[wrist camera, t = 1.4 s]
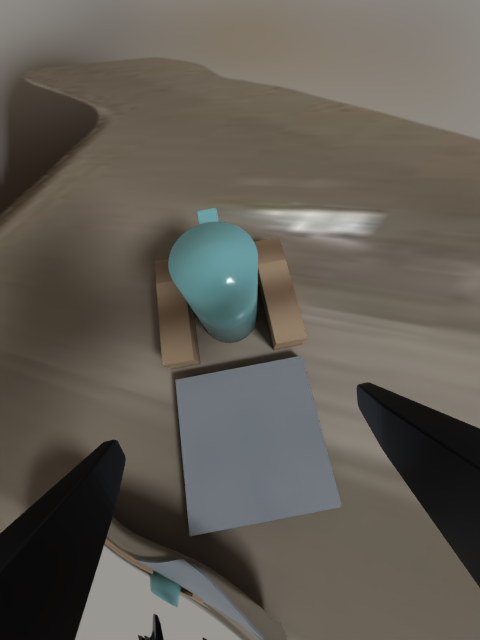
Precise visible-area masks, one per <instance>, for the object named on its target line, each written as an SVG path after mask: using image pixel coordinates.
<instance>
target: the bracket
mask: <svg viewBox="0 0 480 640" xmlns="http://www.w3.org/2000/svg"><path fill="white" fill-rule="evenodd" d="M254 243H255V245H256V248H257V252H258V283H259V288H260V292H261V297H262V301H263V305H264V310H265V314H266V318H267V323H268V327H269V331H270V336H271V340H272V344H273V349H274V350H276V349H281V348H287V347H292V346H297V345H302V344H303V343H304V341H305V340H306V339H307V334H306V331H305V327H304V324H303V320H302V317H301V313H300V309H299V306H298V302H297V299H296V295H295V292H294V288H293V285H292V281H291V277H290V274H289V270H288V267H287V263H286V260H285V256H284V253H283V249H282V245H281V242H280V238H279V237H277V238H271V239H266V240H261V241H255V242H254ZM168 261H169V258H166V259H161V260H155V261H154V262H155V275H156V289H157V302H158V315H159V328H160V341H161V355H162V366H165V367H167V368H170V369H177V368H182V367H187V366H192V365H198V364H200V357H199V350H198V342H197V334H196V326H195V318H194V311H193V310H192V308H191V307H190V305H189V304H188V302H187V301H186V299H185V298H184V296H183V295H182V293H181V292H180V291H179V289H178V288H177V286H176V285H175V283H174V282H173V280H172V278H171V275H170V272H169V267H168Z"/></svg>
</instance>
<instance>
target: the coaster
mask: <svg viewBox="0 0 480 640" xmlns="http://www.w3.org/2000/svg"><path fill="white" fill-rule="evenodd" d="M175 381H176V392H177V403H178V414H179V425H180V436H181V447H182V458H183V469H184V480H185V491H186V501H187V512H188V523H189V534H190V536H194V535H199V534H204V533H210V532H215V531H220V530H225V529H230V528H236V527H241V526H246V525H251V524H256V523H261V522H267V521H272V520H277V519H282V518H287V517H292V516H298V515H303V514H308V513H313V512H318V511H324V510H329V509H334V508H339V507H342V505H341V501H340V498H339V494H338V490H337V486H336V483H335V479H334V475H333V471H332V468H331V464H330V460H329V456H328V453H327V449H326V445H325V441H324V438H323V434H322V430H321V426H320V423H319V419H318V415H317V411H316V408H315V404H314V400H313V396H312V393H311V389H310V385H309V381H308V378H307V374H306V370H305V366H304V363H303V359H302V356H297V357H292V358H287V359H282V360H276V361H271V362H266V363H261V364H256V365H250V366H245V367H240V368H235V369H229V370H224V371H219V372H214V373H208V374H203V375H198V376H193V377H188V378H182V379H177V380H175Z"/></svg>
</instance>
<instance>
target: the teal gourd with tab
mask: <svg viewBox="0 0 480 640" xmlns="http://www.w3.org/2000/svg"><path fill="white" fill-rule="evenodd" d="M197 212H198V218H199V225H197V226H195V227H193V228H191V229H189V230H187V231H186V232H185V233H184V234H182V235H181V236H180V237H179V238H178V240H177V241H176V242H175V244H174V245H173V247H172V249H171V252H170V255H169V261H168V267H169V272H170V275H171V278H172V280H173V282H174V283H175V285H176V286H177V288H178V289H179V291H180V292H181V293H182V295H183V296H184V298H185V299H186V301H187V302H188V304H189V305H190V307H191V308H192V310H193V311H194V313H195V314H196V316H197V317H198V319H199V320H200V322H201V323H202V325H203V326H204V328H205V329H206V330H207V332H208V333H209V334H210V335H211V336H212V337H213V338H214V339H216V340H218V341H221V342H225V343H233V342H238V341H240V340H242V339H244V338H246V337H247V336H248V335H249V334H250V333H251V332H252V331H253V329H254V327H255V325H256V321H257V288H258V252H257V248H256V245H255V243H254V241H253V239H252V238H251V237H250V236H249V234H248V233H247V232H245V231H244V230H243V229H241V228H240V227H238V226H236V225H233V224H230V223H226V222H219V220H218V215H217V210H216V208H213V209H208V210H202V211H197Z"/></svg>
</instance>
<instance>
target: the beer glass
mask: <svg viewBox="0 0 480 640" xmlns="http://www.w3.org/2000/svg"><path fill="white" fill-rule="evenodd" d="M75 640H287V639H286V633H285V629H284V627H283V625H282V624H281V623H279V622H278V621H276V620H275V619H274V618H273V617H271V616H270V615H269V614H268V613H267V612H266V611H264V610H263V609H262V608H261V607H260V606H259V605H258V604H257V603H255V602H254V601H253V600H252V599H251V598H250V597H248V596H247V595H246V594H245V593H244V592H243V591H241V590H240V589H239V588H237V587H236V586H235V585H234V584H232V583H231V582H230V581H228V580H227V579H226V578H224V577H223V576H221V575H220V574H218V573H217V572H215V571H214V570H212V569H211V568H209V567H208V566H206V565H204V564H202V563H200V562H198V561H196V560H194V559H192V558H190V557H188V556H186V555H183V554H181V553H178V552H176V551H174V550H171V549H169V548H167V547H164V546H162V545H159V544H157V543H154V542H152V541H150V540H147V539H145V538H143V537H141V536H139V535H137V534H135V533H134V532H132V531H130V530H129V529H127V528H126V527H125V526H123V525H122V524H121V523H120V522H118V521H117V520H116V518H115V517H114V516H113V518H112V521H111V525H110V528H109V531H108V534H107V538H106V541H105V544H104V547H103V551H102V554H101V557H100V560H99V564H98V567H97V570H96V573H95V577H94V580H93V583H92V586H91V590H90V593H89V596H88V599H87V603H86V606H85V609H84V612H83V615H82V619H81V622H80V625H79V628H78V632H77V635H76V638H75Z"/></svg>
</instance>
